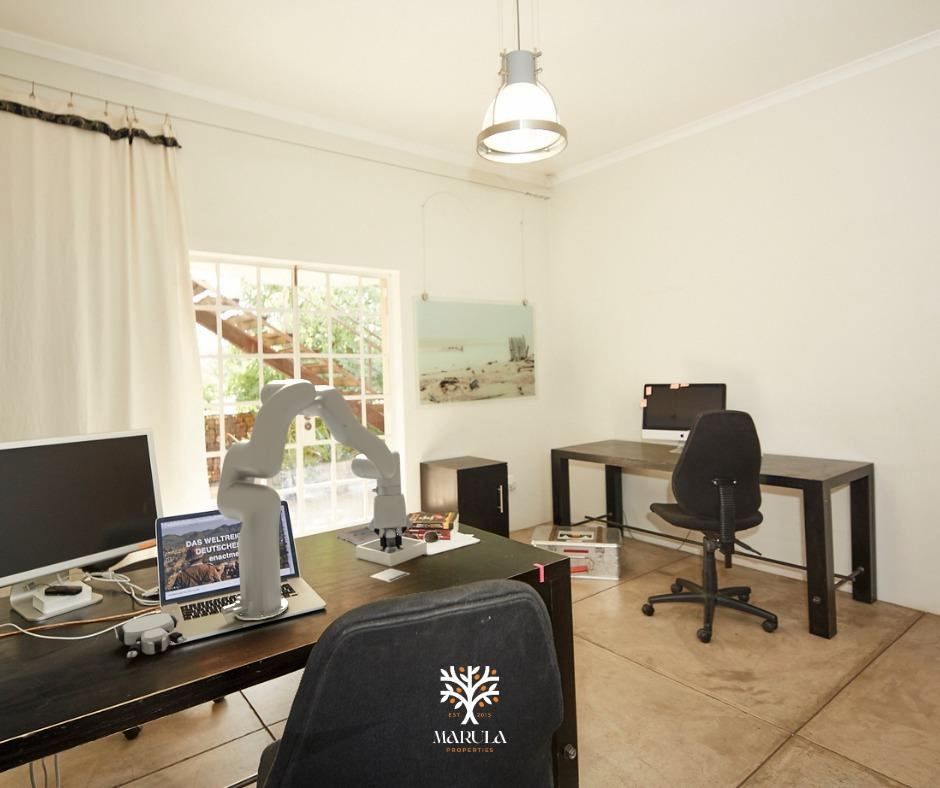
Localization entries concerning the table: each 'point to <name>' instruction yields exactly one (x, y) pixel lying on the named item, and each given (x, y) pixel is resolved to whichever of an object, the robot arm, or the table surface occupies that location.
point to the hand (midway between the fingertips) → (391, 547)
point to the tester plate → (390, 575)
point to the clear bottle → (390, 540)
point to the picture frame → (359, 535)
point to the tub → (374, 555)
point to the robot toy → (149, 633)
